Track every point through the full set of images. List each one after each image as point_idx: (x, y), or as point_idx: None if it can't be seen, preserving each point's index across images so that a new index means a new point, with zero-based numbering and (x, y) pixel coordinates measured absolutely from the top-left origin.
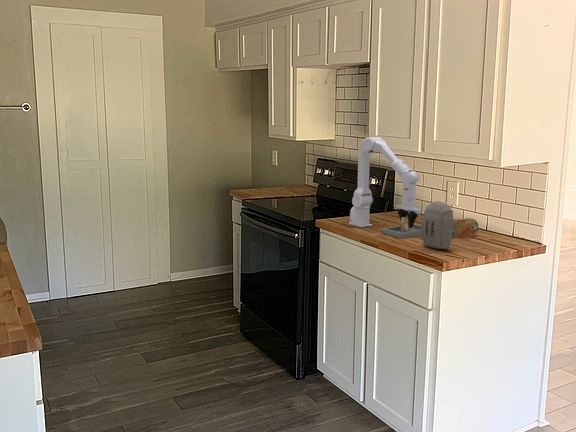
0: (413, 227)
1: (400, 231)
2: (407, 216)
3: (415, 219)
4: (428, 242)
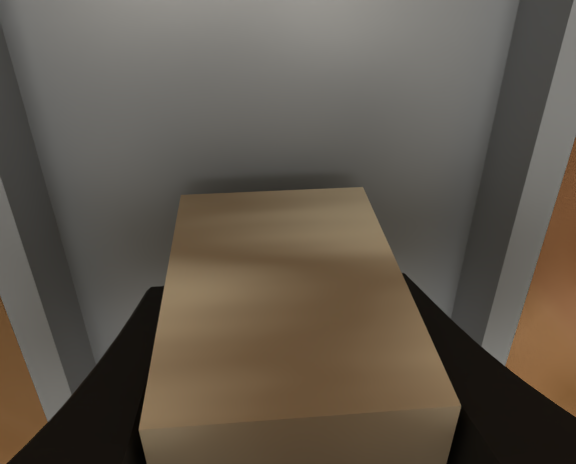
0: (377, 221)
1: (159, 284)
2: (144, 440)
3: (544, 400)
4: None
